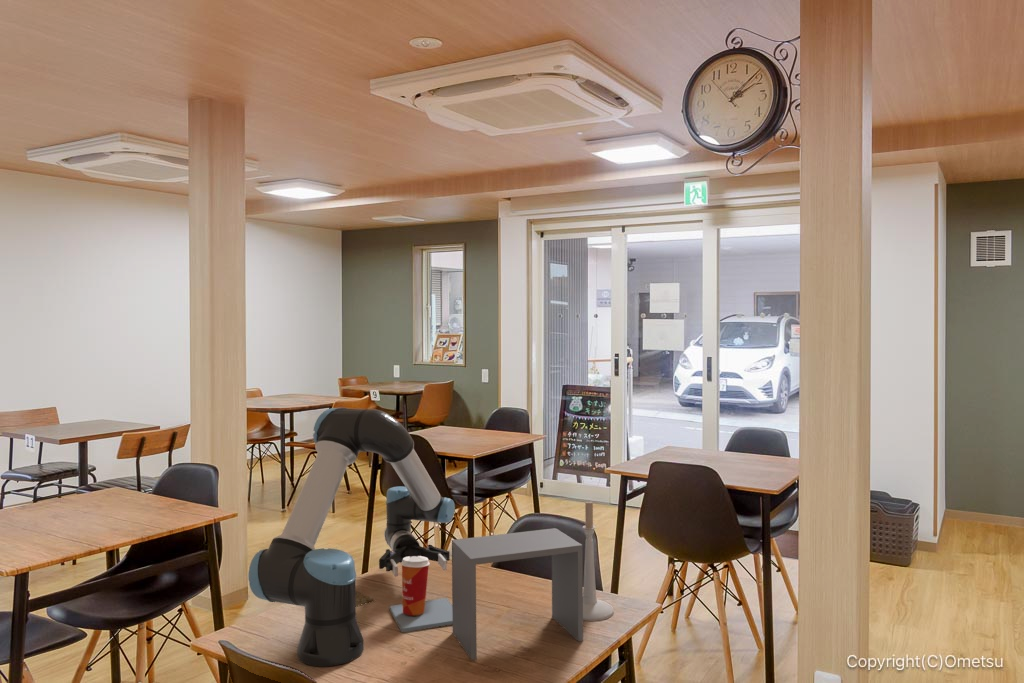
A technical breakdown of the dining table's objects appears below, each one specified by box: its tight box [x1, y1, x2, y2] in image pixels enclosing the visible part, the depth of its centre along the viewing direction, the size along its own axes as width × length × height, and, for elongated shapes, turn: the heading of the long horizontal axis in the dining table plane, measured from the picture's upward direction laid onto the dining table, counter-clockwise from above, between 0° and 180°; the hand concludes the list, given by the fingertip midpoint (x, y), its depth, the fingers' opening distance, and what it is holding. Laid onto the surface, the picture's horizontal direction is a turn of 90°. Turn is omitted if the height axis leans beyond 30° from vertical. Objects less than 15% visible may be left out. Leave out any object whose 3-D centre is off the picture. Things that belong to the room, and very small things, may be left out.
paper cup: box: [400, 556, 431, 616], centre depth 194 cm, size 8×8×14 cm
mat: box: [389, 597, 453, 633], centre depth 194 cm, size 16×16×1 cm
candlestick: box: [582, 500, 615, 622], centre depth 196 cm, size 13×13×30 cm
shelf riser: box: [451, 527, 584, 661], centre depth 181 cm, size 28×16×24 cm, turn 110°
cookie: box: [356, 591, 376, 607], centre depth 206 cm, size 12×12×1 cm
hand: (421, 568), depth 200 cm, fingers open, 13 cm apart
